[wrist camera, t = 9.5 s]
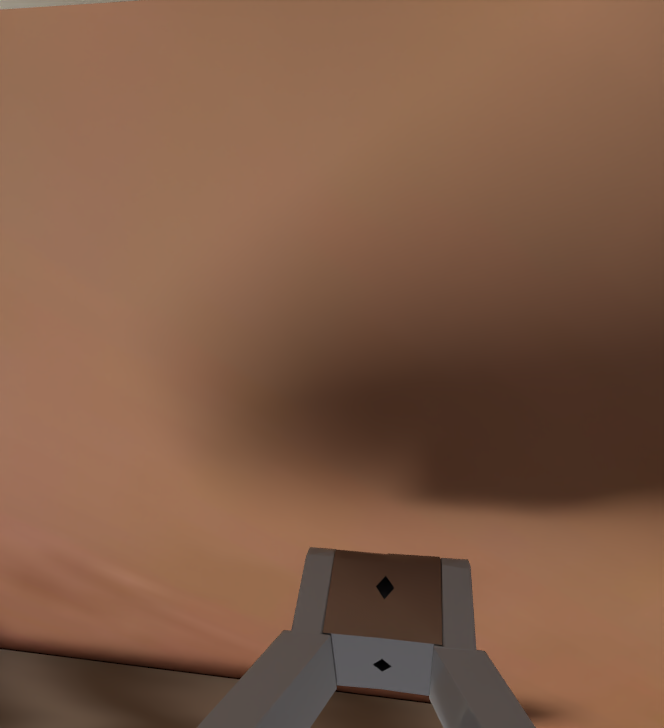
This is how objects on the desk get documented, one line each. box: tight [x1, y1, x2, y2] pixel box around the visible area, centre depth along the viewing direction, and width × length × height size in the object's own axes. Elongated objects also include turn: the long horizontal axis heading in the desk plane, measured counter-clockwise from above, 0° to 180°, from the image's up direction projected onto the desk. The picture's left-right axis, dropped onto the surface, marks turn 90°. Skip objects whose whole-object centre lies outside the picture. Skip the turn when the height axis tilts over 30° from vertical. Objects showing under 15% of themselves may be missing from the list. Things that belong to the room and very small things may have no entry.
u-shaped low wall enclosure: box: [0, 0, 443, 728], centre depth 12 cm, size 20×21×3 cm
